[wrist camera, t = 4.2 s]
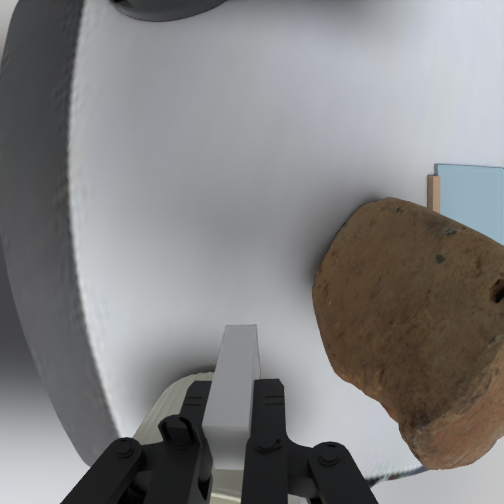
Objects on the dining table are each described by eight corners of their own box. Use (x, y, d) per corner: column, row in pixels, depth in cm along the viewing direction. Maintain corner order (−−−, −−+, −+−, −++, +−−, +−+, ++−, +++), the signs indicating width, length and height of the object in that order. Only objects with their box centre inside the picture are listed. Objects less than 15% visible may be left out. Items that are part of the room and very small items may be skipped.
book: (427, 164, 24) (432, 164, 23) (530, 170, 22) (535, 172, 22) (416, 326, 28) (420, 330, 27) (513, 305, 27) (518, 309, 26)
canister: (237, 465, 36) (223, 596, 16) (122, 403, 34) (56, 537, 13) (334, 399, 31) (366, 571, 11) (198, 310, 29) (113, 519, 9)
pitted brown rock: (376, 181, 24) (570, 254, 5) (428, 237, 26) (590, 355, 6) (293, 275, 27) (327, 486, 8) (351, 321, 28) (423, 509, 9)
